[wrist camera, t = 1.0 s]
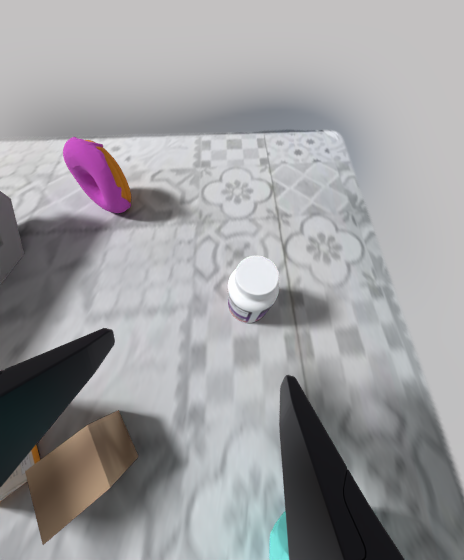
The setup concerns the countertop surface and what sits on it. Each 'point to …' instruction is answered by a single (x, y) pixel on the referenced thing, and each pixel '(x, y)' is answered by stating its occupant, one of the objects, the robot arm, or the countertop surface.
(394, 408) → the countertop surface
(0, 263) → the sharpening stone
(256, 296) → the pill bottle
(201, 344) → the countertop surface
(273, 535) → the decorative dice
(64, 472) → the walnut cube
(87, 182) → the donut
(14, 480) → the supplement box
